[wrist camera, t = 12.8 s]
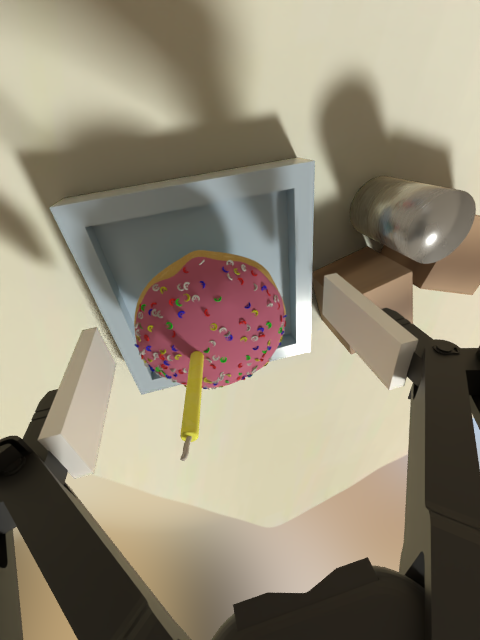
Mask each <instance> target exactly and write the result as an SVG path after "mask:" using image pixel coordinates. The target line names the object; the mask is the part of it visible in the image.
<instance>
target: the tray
mask: <svg viewBox="0 0 480 640" xmlns="http://www.w3.org/2000/svg"><path fill="white" fill-rule="evenodd" d="M314 175H315V161H314V160H308V159H303V158H292V159H286V160H280V161H274V162H269V163H263V164H257V165H251V166H246V167H240V168H234V169H228V170H223V171H217V172H211V173H205V174H200V175H194V176H188V177H182V178H177V179H171V180H165V181H159V182H154V183H148V184H142V185H136V186H131V187H125V188H119V189H113V190H108V191H102V192H96V193H90V194H85V195H79V196H73V197H67V198H63V199H62V200H60V201H59V202H57V203H55V204H54V205H52V206H51V207H49V208H50V210H51V212H52V214H53V216H54V218H55V220H56V222H57V224H58V226H59V228H60V231H61V233H62V235H63V237H64V239H65V241H66V243H67V245H68V247H69V249H70V251H71V253H72V255H73V257H74V259H75V261H76V263H77V265H78V267H79V269H80V271H81V273H82V275H83V277H84V279H85V281H86V283H87V285H88V287H89V289H90V291H91V293H92V295H93V297H94V299H95V301H96V303H97V306H98V308H99V310H100V312H101V314H102V316H103V318H104V320H105V322H106V324H107V326H108V328H109V330H110V332H111V334H112V336H113V338H114V340H115V342H116V344H117V346H118V348H119V350H120V352H121V354H122V356H123V358H124V360H125V362H126V364H127V366H128V368H129V370H130V372H131V374H132V376H133V379H134V381H135V383H136V385H137V387H138V389H139V391H140V393H141V395H142V394H146V393H150V392H153V391H157V390H161V389H165V388H169V387H173V386H177V385H181V384H180V383H178V382H175V383H173V382H172V381H171V380H170V379H166V378H165V377H160V376H159V375H158V374H156V373H155V371H154V372H153V371H151V369H150V367H151V366H150V367H149V366H148V367H147V368H146V367H145V366H144V361H145V360H144V361H143V359H141V355H140V356H139V350H138V348H137V347H136V346H135V344H137V343H136V337H135V328H134V318H135V310H136V306H137V302H138V300H139V297H140V295H141V293H142V291H143V290H144V288H145V287H146V286H147V284H148V283H149V282H150V281H151V280H152V279H153V278H154V277H155V276H156V275H157V274H158V273H160V272H161V271H162V270H164V269H165V268H166V267H168V266H169V265H171V264H172V263H174V262H176V261H177V260H179V259H181V258H182V257H184V256H185V255H187V254H189V253H190V252H193V251H196V250H206V251H214V252H223V253H229V254H234V255H239V256H243V257H246V258H249V259H252V260H254V261H256V262H258V263H259V264H261V265H262V266H263V267H264V268H265V269H266V270H267V271H268V272H269V273H270V275H271V277H272V279H273V281H274V283H275V284H276V286H277V288H278V290H279V292H280V295H281V297H282V299H283V302H284V305H285V311H286V315H287V316H286V318H285V321H286V326H285V327H284V329H285V333H284V334H283V336H282V337H283V339H282V341H281V345H278V347H277V349H276V350H275V352H274V354H273V355H272V357H271V358H272V359H271V360H269V362H270V361H274V360H278V359H282V358H286V357H290V356H294V355H298V354H302V353H306V352H309V351H310V350H311V306H312V262H313V219H314ZM147 365H148V364H147ZM147 365H146V366H147Z"/></svg>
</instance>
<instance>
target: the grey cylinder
mask: <svg viewBox="0 0 480 640" xmlns="http://www.w3.org/2000/svg"><path fill="white" fill-rule="evenodd" d="M475 211H476V208H475V202H474V200H473V198H472V196H471V195H470V194H469V193H467V192H465V191H461V190H456V189H451V188H446V187H440V186H435V185H430V184H425V183H420V182H414V181H409V180H404V179H399V178H394V177H388V176H379V177H376V178H373V179H371V180H370V181H368V182H367V183H366V184H364V185H363V186H362V187H361V188H360V190H359V191H358V192H357V194H356V195H355V197H354V199H353V202H352V205H351V209H350V220H351V223H352V226H353V227H354V229H355V230H356V231H358V232H359V233H361V234H363V235H365V236H367V237H369V238H371V239H373V240H375V241H377V242H379V243H381V244H383V245H385V246H387V247H389V248H391V249H393V250H395V251H397V252H399V253H401V254H403V255H405V256H407V257H409V258H411V259H413V260H415V261H417V262H419V263H423V264H429V263H434V262H437V261H439V260H441V259H443V258H445V257H446V256H448V255H449V254H451V253H452V252H453V251H454V250H455V249H456V248H457V247H458V246H459V245H460V244H461V243H462V242H463V240H464V239H465V238H466V236H467V235H468V233H469V231H470V229H471V227H472V224H473V222H474V218H475Z"/></svg>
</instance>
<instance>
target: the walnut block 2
mask: <svg viewBox="0 0 480 640" xmlns="http://www.w3.org/2000/svg"><path fill="white" fill-rule="evenodd" d="M381 254H382V255H384V256H386V257H388V258H390V259H391V260H393V261H395V262H397V263H399V264H400V265H402V266H404V267H406V268H408V269H409V270H411V271H412V282H413V284H414V285H415V286H417V287H419V288H420V289H428V290H436V291H444V292H452V293H460V294H468V295H473V293H474V292H475V291H476V289H477V288H478V286H479V285H480V216H479V215H475V218H474V222H473V224H472V227H471V229H470V231H469V233H468V235H467V236H466V238H465V239H464V240H463V242H462V243H461V244H460V245H459V246H458V247H457V248H456V249H455V250H454V251H453V252H452V253H451V254H449V255H448V256H446V257H445V258H443V259H441V260H439V261H437V262H434V263H429V264H423V263H419V262H417V261H415V260H413V259H411V258H409V257H407V256H405V255H403V254H401V253H399V252H397V251H395V250H393V249H391V248H389V247H387V246H385V245H384V246H383V248H382V251H381Z"/></svg>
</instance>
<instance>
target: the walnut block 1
mask: <svg viewBox="0 0 480 640" xmlns="http://www.w3.org/2000/svg"><path fill="white" fill-rule="evenodd" d="M334 273H337V274H338V275H339V276H341V277H342V278H343V279H344V280H346V281H347V282H348V283H349V284H351V285H352V286H353V287H354V288H355V289H357V290H358V291H359V292H360V293H362V294H363V295H364V296H365V297H367V298H368V299H369V300H370V301H372V302H373V303H374V304H375V305H376V306H378V307H379V308H380V309H383V308H389V309H391V310H394V311H396V312H398V313H399V314H401V315H402V316H403V317H404V318H405V319H407V320H408V321H410V322H411V324H413V282H412V271H411V270H409V269H408V268H406V267H404V266H402V265H400V264H399V263H397V262H395V261H393V260H391V259H390V258H388V257H386V256H384V255H382V254H381V253H379V252H377V251H375V250H373V249H372V248H370V247H368V246H367V247H365V248H363V249H360V250H358V251H356V252H354V253H352V254H350V255H348V256H345V257H343V258H341V259H339V260H337V261H335V262H333V263H331V264H328V265H326V266H324V267H322V268H320V269H318V270H316V271H313V272H312V285H313V289H314V293H315V296H316V300H317V304H318V308H319V311H320V315H321V319H322V320H323V322H324V323H325V324H326V325H327V326H328V328H329V329H330V330H331V331H332V332H333V333H334V335H335V336H336V337H337V338H338V339H339V341H340V342H341V343H342V344H343V345H344V346H345V348H346V349H347V350H348V351H349V352H350V354H354V353H356V352H355V351H354V350H353V348H352V347H351V346H350V345H349V344H348V343H347V342H346V340H345V339H344V338H343V337H342V336H341V335H340V334H339V332H338V331H337V330H336V329H335V328H334V327H333V326H332V325H331V323H330V322H329V321H328V320H327V319H326V318H325V317H324V315H323V314H322V309H323V290H324V276H325V275H329V274H334Z"/></svg>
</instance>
